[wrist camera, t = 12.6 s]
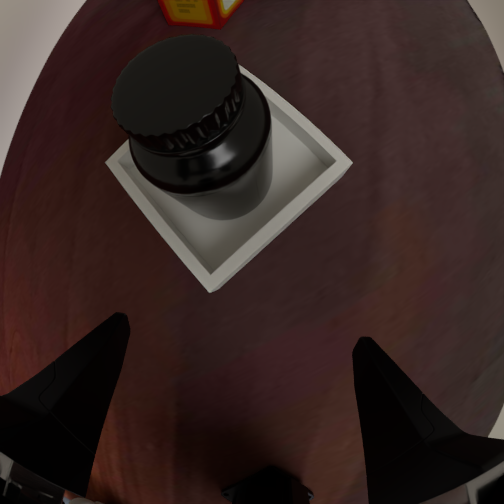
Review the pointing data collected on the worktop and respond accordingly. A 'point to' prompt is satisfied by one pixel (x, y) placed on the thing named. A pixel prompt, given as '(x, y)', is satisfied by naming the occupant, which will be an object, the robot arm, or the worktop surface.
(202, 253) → the tray
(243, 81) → the supplement bottle
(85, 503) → the teacup
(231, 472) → the worktop surface
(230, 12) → the baking soda box
